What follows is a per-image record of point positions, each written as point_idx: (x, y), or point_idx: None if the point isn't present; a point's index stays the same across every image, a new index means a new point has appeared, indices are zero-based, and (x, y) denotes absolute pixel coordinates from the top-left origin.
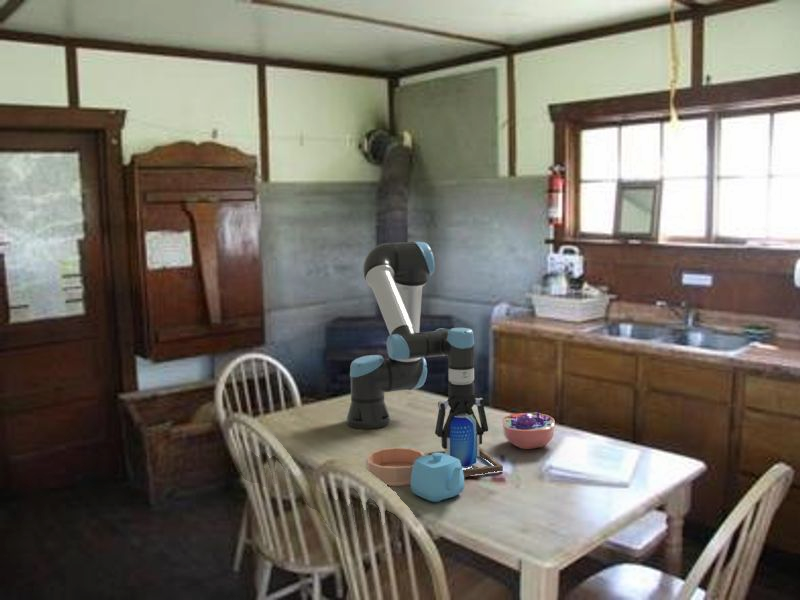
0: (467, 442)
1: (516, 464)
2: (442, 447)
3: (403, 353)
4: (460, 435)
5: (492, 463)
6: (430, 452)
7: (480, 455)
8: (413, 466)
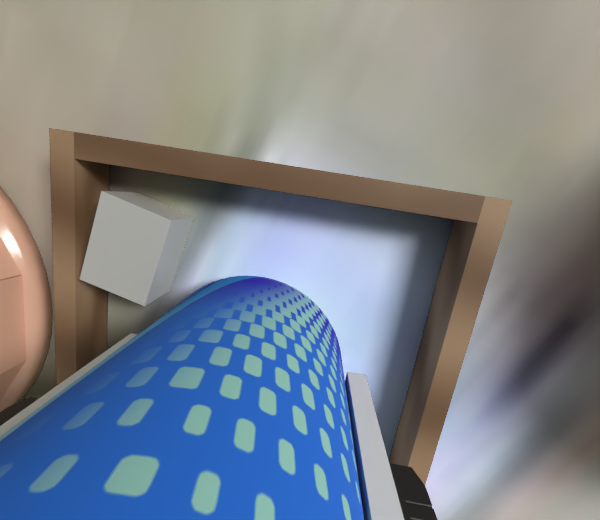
0: None
1: (536, 466)
2: (29, 403)
3: None
4: None
5: (401, 457)
6: (102, 138)
7: (443, 274)
8: None
